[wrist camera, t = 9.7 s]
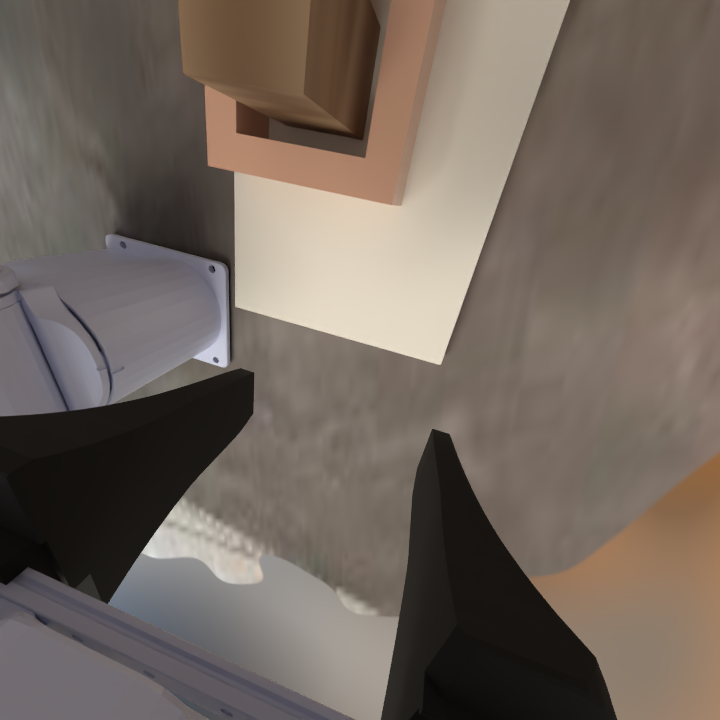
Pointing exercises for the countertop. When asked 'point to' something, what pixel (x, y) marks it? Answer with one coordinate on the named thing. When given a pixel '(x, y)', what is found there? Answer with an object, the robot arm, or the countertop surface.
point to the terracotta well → (387, 132)
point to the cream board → (420, 200)
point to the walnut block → (286, 58)
